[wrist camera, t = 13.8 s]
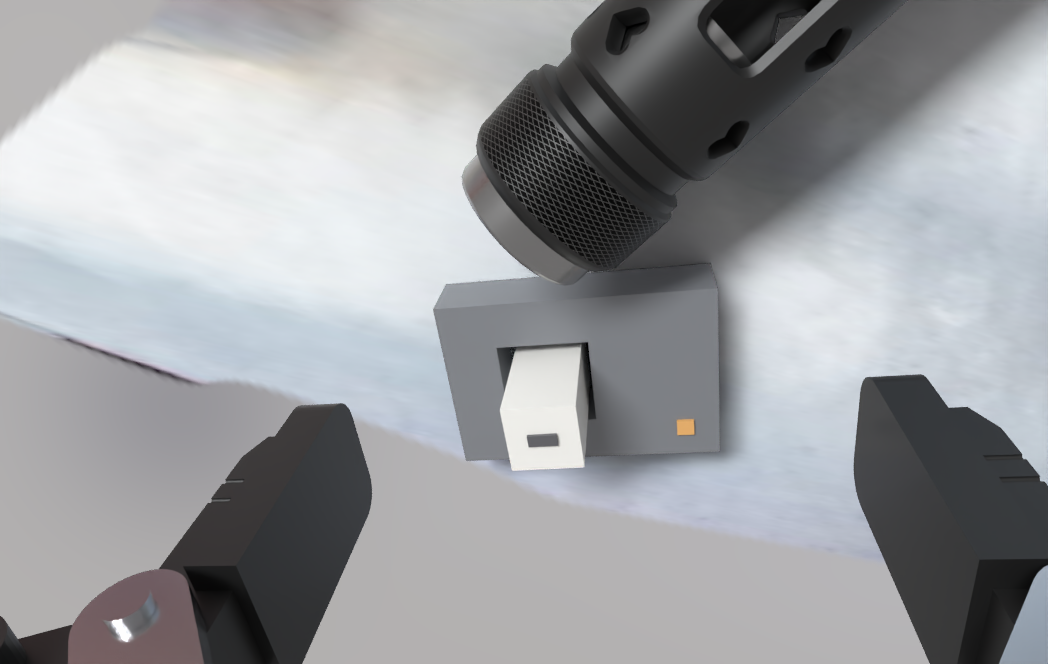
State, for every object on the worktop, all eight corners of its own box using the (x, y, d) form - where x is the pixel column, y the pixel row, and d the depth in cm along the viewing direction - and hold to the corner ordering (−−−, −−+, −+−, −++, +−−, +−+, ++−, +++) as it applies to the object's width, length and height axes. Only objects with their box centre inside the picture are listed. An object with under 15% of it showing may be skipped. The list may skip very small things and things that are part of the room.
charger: (583, 324, 44) (575, 407, 36) (590, 379, 46) (584, 469, 38) (520, 330, 45) (499, 412, 37) (530, 383, 47) (511, 472, 39)
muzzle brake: (1060, -181, 30) (1248, -237, 21) (590, 248, 42) (583, 330, 33) (929, -379, 28) (1078, -538, 19) (471, 134, 40) (427, 188, 31)
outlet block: (710, 263, 41) (718, 289, 38) (713, 418, 46) (720, 453, 43) (446, 284, 44) (432, 311, 41) (475, 429, 49) (465, 462, 46)
